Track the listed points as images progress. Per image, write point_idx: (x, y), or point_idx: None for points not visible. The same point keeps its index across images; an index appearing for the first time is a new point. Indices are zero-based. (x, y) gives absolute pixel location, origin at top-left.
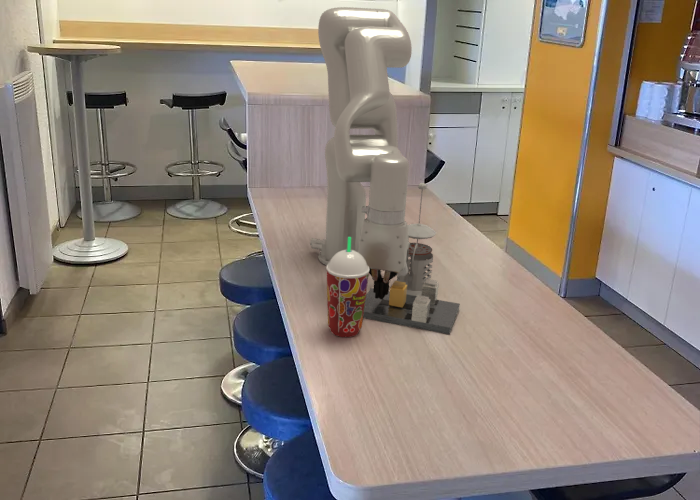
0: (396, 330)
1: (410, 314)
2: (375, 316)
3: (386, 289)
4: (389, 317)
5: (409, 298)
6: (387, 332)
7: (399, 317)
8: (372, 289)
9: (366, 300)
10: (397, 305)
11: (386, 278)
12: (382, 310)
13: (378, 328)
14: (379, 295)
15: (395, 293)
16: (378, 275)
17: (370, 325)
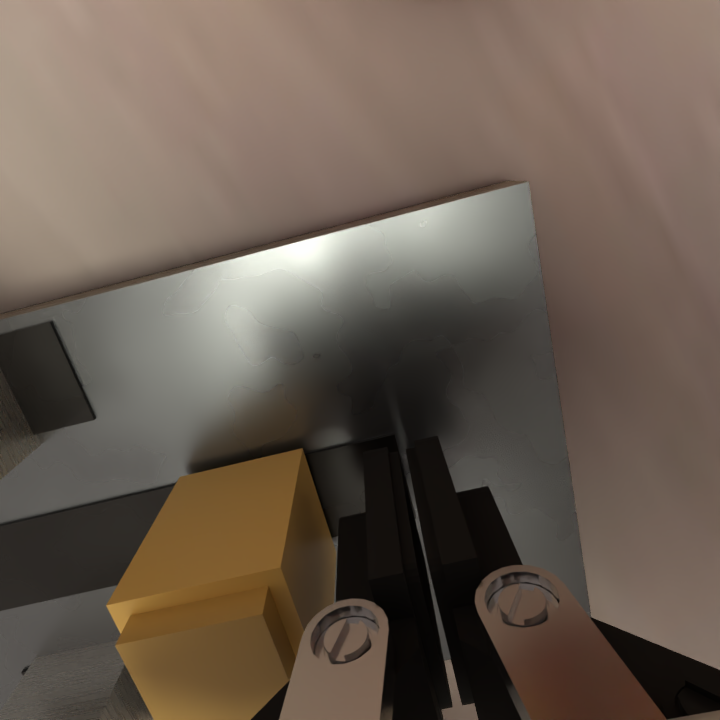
0: (70, 175)
1: (59, 415)
2: (319, 233)
3: (344, 553)
4: (186, 270)
5: None
6: (104, 83)
7: (97, 307)
8: None
9: (525, 423)
10: (222, 472)
11: (343, 667)
12: (303, 339)
13: (213, 103)
14: (398, 465)
15: (222, 541)
16: (501, 681)
17: (303, 110)
